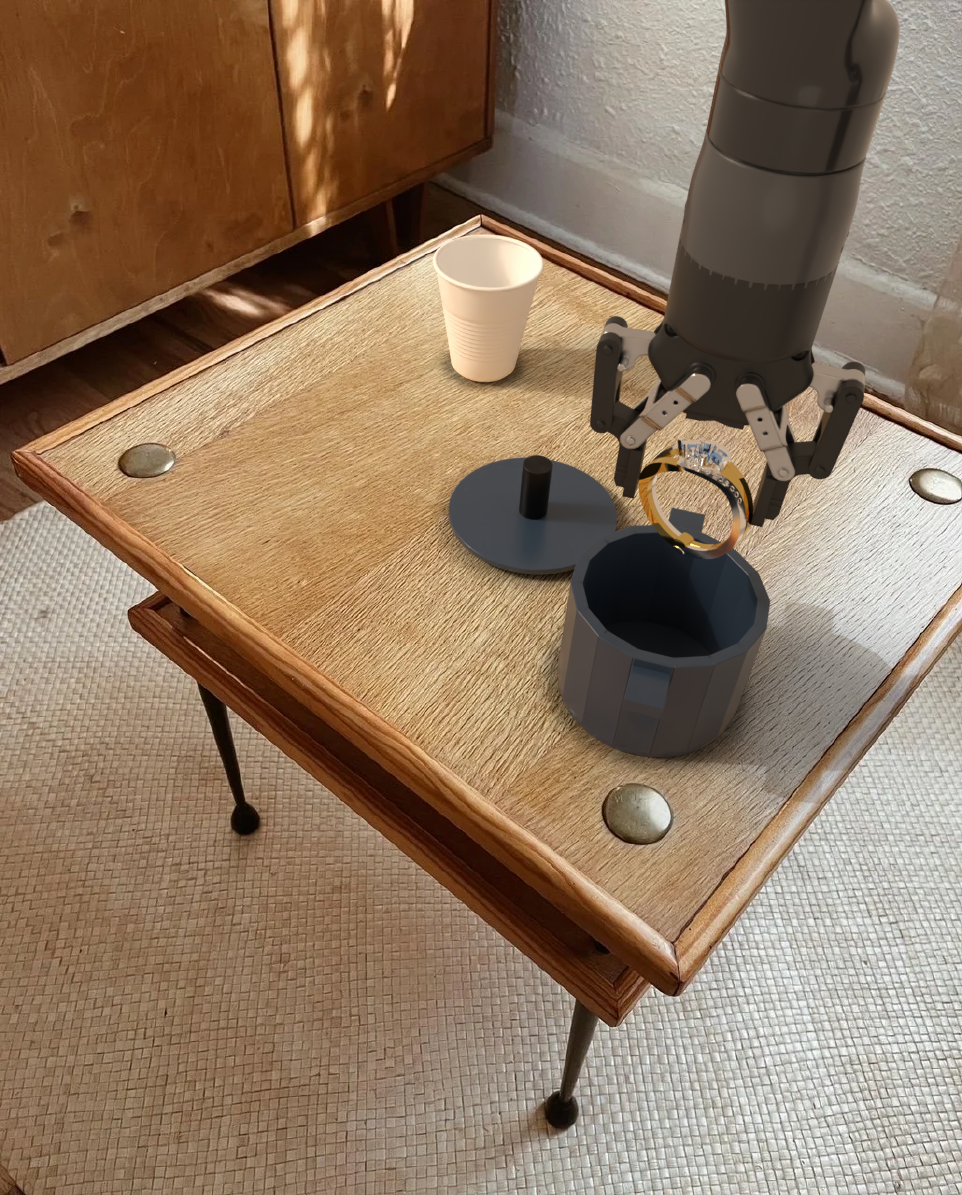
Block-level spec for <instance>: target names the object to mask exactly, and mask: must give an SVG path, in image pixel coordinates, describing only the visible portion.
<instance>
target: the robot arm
mask: <svg viewBox="0 0 962 1195" xmlns="http://www.w3.org/2000/svg"><path fill="white" fill-rule="evenodd" d="M724 10H725V26H726V27H725V28H726V30H725V37H724V42H723V46H722V50H721V55H720V59H719V64H718V69H717V74H716V80H715V84H714V88H713V89H714V91H713V95H712V99H711V104H710V109H709V115H708V120H707V125H706V129H705V133H704V137H703V142H702V145H701V148H700V151H699V154H698V156H697V159H696V162H695V165H694V169H693V171H692V175H691V178H690V183H689V187H688V192H687V197H686V201H685V204H684V209H683V218H682V224H681V228H680V233H679V239H678V243H677V248H676V253H675V259H674V260H675V261H674V264H673V269H672V275H671V280H670V286H669V290H668V296H667V300H666V305H665V311H664V316H663V319H662V320H661V322H660V323H659V324H658V325H657V327H656V328H655V329H654V330H646V329H639V328H632V327H628V322H627V321H626V319H625V318H623V317H622V316H620V315H613V316H611V317H609V318H608V319H607V320H606V322H605V324H604V326H603V328H602V332H601V334H600V337H599V340H598V342H597V345H596V347H595V348H596V349H595V361H594V371H593V382H592V384H593V385H592V394H591V404H590V405H591V407H590V418H589V426H590V428H591V430H592V431H594V432H595V433H597V434H606V433H608V434H610V435H612V436H613V437H614V438H615V439H617V442H618V452H617V457H616V462H615V469H614V474H613V481H614V484H615V487H619V488H623V489H622V494H621V497H624V498H628V499H632V500H634V499H635V496H636V493H637V489H638V487H639V478H640V474H641V472H642V470H643V469H642V468H643V464H644V459H645V453H646V448H647V444H648V440H649V438H650V437H652V436H653V435H654V434H655V433H656V432H657V431H662V430H664V429H665V428H667V426H668V425H669V424H671V422H673V421H674V420H675V419H676V418H678V416H679V415H680V414H682V413H684V414H685V419H687V420H693V421H698V422H716V423H719V424H721V425H724V426H725V427H728V428H732V429H736V430H742V431H743V430H744V428H745V426H747V427H748V426H749V428H750V430H751V432H752V436H753V438H754V440H755V442H756V445H757V447H758V450H759V451H760V452H762V453H763V455H764V457H765V459H766V462H765V465H764V468H763V472H762V475H761V478H760V480H759V485H758V487H757V491H756V494H755V497H754V501H753V517H752V520H751V524H750V526H755V527H759V528H763V527H764V524H765V520H768V521H774V520H775V519H776V518H777V517H778V516H780V512H781V510H782V506H783V504H784V501H785V498H786V495H787V493H788V489H789V487H790V483H791V482H792V480H794V478H796V477H798V476H802V475H803V476H805V475H809V476H810V477H811V478H813V479H815V480H825V479H827V478H829V477H830V476H831V475H832V473H833V470H834V468H835V466H836V463H837V461H838V459H839V457H840V454H841V452H842V449H843V447H844V445H845V443H846V441H847V437H848V436H849V434H850V431H851V429H852V427H853V425H854V423H855V420H856V418H857V415H858V413H859V411H860V409H861V406H862V404H863V402H864V399H865V390H866V389H865V388H866V387H865V386H866V368H865V366H864V364H862V363H861V362H859V361H850V362H847V363H845V364H844V365H843V366H842V367H837V366H833V365H828V364H823V363H819V362H816V360H815V357H814V352H813V346H814V342H815V339H816V336H817V333H818V330H819V327H820V323H821V320H822V317H823V314H824V312H825V311H824V310H825V308H826V304H827V301H828V298H829V295H830V292H831V288H832V285H833V283H834V279H835V276H836V273H837V270H838V267H839V263H840V259H841V257H842V254H843V250H844V247H845V244H846V242H847V239H848V237H849V234H850V230H851V225H852V223H853V221H854V220H853V219H854V216H855V212H856V209H857V205H858V199H859V194H860V190H861V182H862V176H863V172H864V167H865V163H866V159H867V155H868V152H869V150H870V146H871V143H872V139H873V137H874V134H875V131H876V127H877V124H878V122H879V118H880V114H881V111H882V108H883V105H884V101H885V98H886V95H887V92H888V89H889V85H890V82H891V79H892V75H893V71H894V67H895V63H896V59H897V55H898V48H899V42H900V36H901V34H900V33H901V29H900V23H899V18H898V14H897V12H896V11H895V9H894V8H893V6H892V4H891V3H890V2H889V1H888V0H724ZM643 356H647V357H648V360H649V362H650V364H651V366H652V367H653V369H654V371H655V373H656V375H657V376H658V379H657V380H656V381H655V382H654V384H652V386H651V388H650V389H649V390H648V392H647V393H646V394H645V395H644V396H643V397H642V398H640V400H638V401H637V402H636V404H634V405H633V406H632V407H631V406H629V405H627V404H626V403H624V402H621V394H622V392H621V391H622V384H623V375H624V374H623V373H624V372H627V371H629V370H630V371H631V369H633V368H634V367H635V365H636V361H637V360H638V359H639V358H640V357H643ZM809 388H811V389H813V390H814V391H815V392H816V393H817V400H816V402H817V406H818V407H819V408H820V409H821V410H822V411H823V413H822V415H821V417H820V420H819V423H818V424H817V428H816V430H815V432H814V434H813V437H812V439H811V440H807V441H797V438H796V435H795V433H794V430H793V427H792V424H791V422H790V416H789V410H788V406H787V404H788V403H790V402H791V401H792V400H794V399H795V398H797V397H798V396H800V395H801V394H803V393H804V392H806V390H808V389H809Z"/></svg>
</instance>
